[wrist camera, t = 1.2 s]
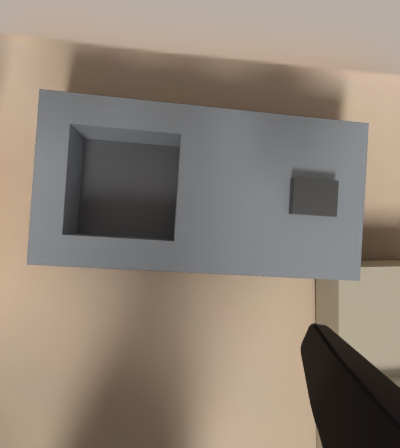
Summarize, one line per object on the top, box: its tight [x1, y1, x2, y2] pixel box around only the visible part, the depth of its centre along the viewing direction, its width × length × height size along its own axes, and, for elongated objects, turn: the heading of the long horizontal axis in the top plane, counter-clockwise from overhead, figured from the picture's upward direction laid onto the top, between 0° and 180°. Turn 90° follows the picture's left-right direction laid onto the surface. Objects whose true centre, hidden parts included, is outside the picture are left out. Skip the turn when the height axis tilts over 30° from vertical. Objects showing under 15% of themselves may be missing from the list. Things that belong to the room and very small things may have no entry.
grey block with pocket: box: [27, 89, 369, 281], centre depth 20 cm, size 20×10×5 cm, turn 86°
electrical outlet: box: [316, 260, 400, 448], centre depth 22 cm, size 7×4×18 cm
